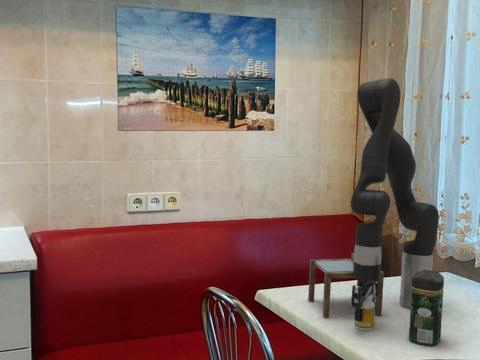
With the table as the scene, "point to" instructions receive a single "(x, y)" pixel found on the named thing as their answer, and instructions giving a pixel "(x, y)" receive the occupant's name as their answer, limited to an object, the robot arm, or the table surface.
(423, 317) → the coffee jar
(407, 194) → the robot arm
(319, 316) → the table surface
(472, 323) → the table surface
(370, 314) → the supplement bottle
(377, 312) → the frame
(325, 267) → the grey angled panel
